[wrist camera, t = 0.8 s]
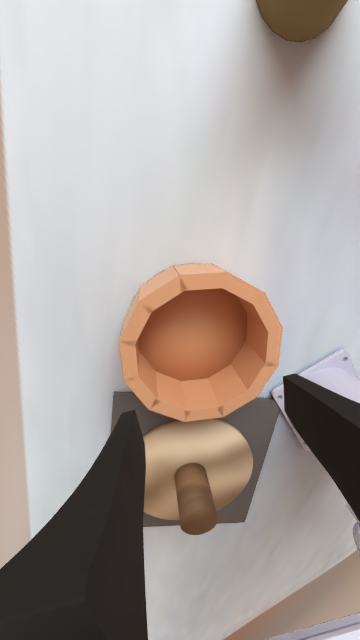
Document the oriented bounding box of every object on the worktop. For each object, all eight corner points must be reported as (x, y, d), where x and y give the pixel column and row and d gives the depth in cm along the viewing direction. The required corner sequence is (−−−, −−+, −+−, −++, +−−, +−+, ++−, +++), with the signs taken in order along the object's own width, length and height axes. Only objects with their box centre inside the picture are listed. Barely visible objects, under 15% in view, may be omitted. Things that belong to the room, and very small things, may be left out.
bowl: (275, 343, 23) (303, 369, 19) (172, 406, 24) (178, 443, 20) (216, 234, 20) (237, 237, 15) (96, 313, 20) (84, 336, 16)
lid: (269, 472, 28) (295, 523, 24) (169, 529, 29) (175, 589, 25) (212, 392, 24) (230, 434, 19) (96, 462, 25) (85, 520, 20)
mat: (280, 398, 26) (282, 401, 25) (243, 518, 31) (244, 522, 31) (114, 391, 23) (113, 394, 23) (104, 524, 28) (104, 528, 28)
